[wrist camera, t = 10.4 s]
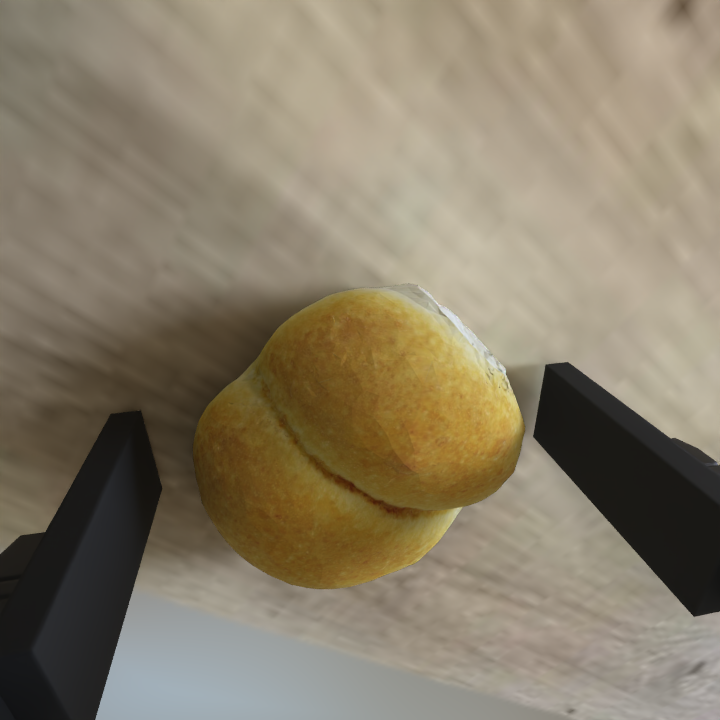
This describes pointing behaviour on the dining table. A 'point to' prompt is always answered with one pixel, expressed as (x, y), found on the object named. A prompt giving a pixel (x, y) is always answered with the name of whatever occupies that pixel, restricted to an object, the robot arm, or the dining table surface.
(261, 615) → the dining table surface
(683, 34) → the dining table surface
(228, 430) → the bread roll
